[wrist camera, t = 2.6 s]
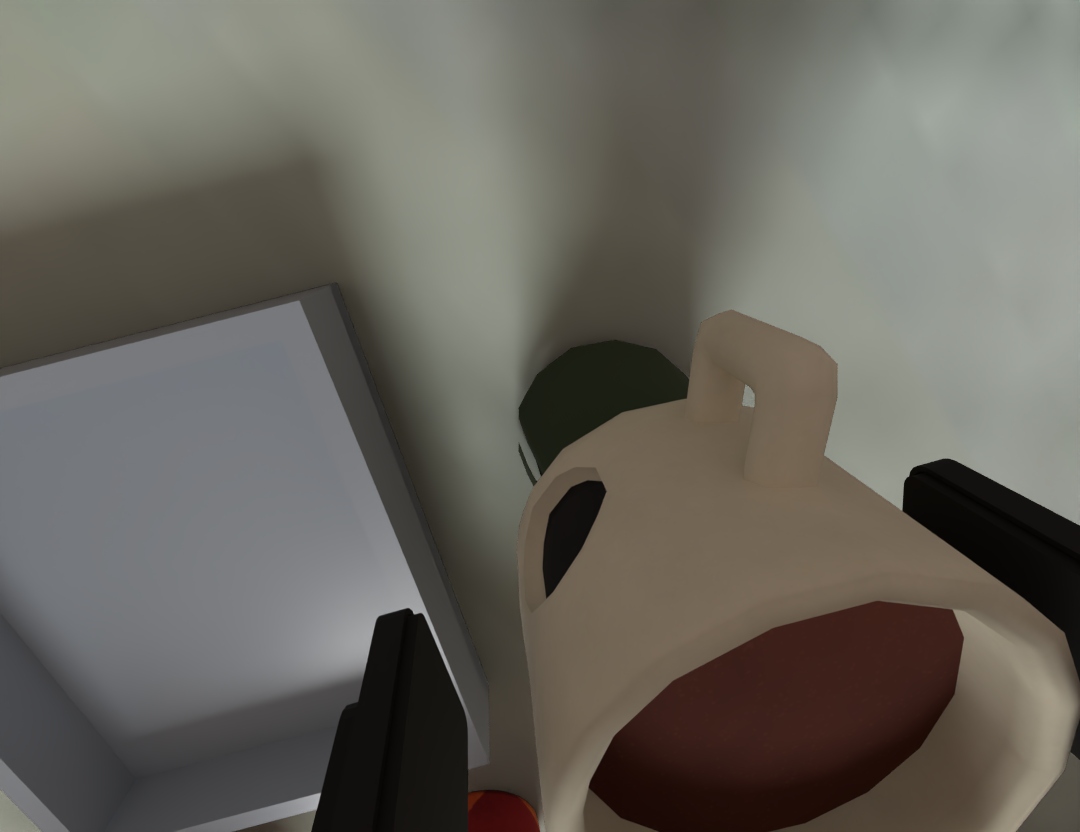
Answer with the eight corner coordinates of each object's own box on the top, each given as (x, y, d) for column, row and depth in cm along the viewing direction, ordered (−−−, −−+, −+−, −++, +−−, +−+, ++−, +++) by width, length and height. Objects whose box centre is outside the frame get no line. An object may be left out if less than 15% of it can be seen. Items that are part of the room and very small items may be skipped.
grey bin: (336, 282, 16) (299, 300, 13) (488, 685, 23) (489, 763, 19) (-159, 409, 16) (-324, 459, 13) (138, 776, 23) (81, 871, 19)
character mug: (502, 262, 16) (553, 403, 4) (719, 264, 17) (1287, 388, 5) (504, 553, 20) (536, 1051, 8) (681, 544, 21) (948, 991, 9)
